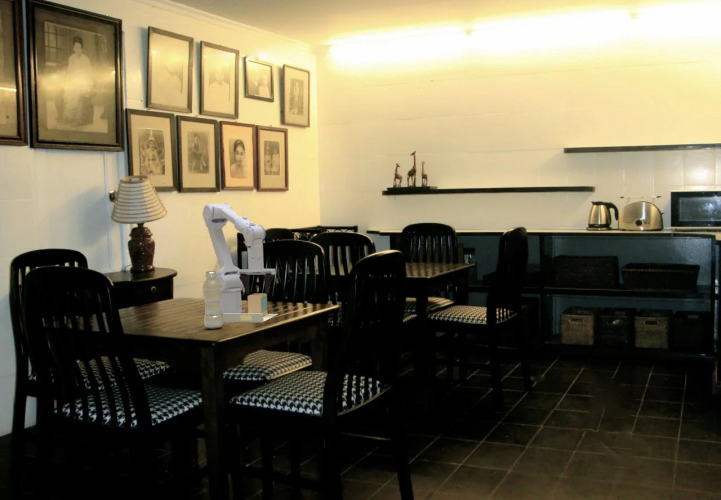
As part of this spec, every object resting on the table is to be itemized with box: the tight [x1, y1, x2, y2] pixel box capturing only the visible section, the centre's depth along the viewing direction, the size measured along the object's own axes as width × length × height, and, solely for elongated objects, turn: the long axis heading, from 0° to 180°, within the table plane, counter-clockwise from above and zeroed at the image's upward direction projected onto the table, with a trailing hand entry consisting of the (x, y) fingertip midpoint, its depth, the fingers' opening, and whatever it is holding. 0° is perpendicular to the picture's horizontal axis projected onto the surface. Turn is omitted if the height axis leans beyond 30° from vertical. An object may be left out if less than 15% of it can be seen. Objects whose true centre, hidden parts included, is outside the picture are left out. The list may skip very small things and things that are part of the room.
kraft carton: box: [247, 292, 269, 316], centre depth 276 cm, size 5×7×8 cm
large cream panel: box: [222, 312, 278, 323], centre depth 272 cm, size 15×18×4 cm
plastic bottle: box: [202, 270, 224, 330], centre depth 255 cm, size 6×7×20 cm
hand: (257, 293), depth 276 cm, fingers open, 7 cm apart
